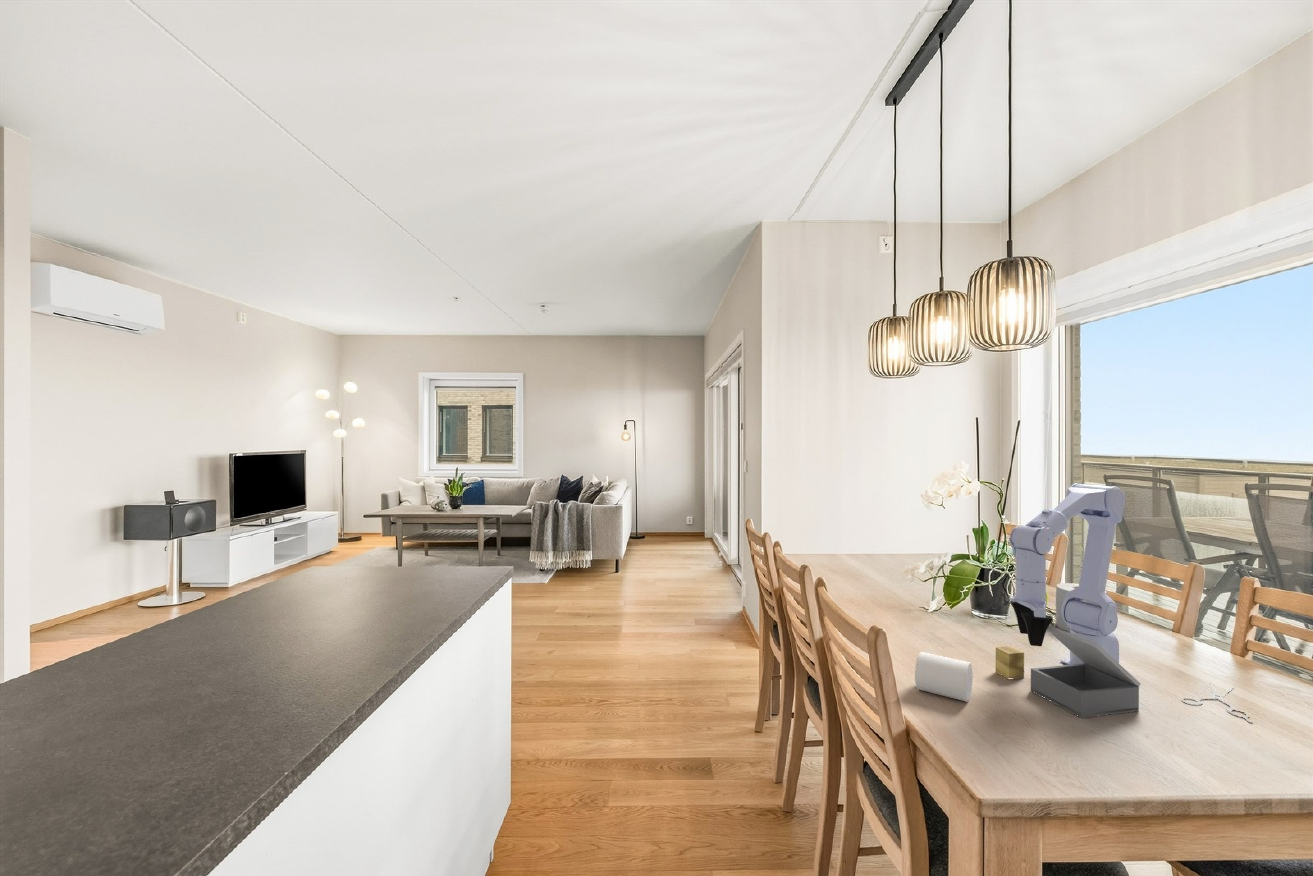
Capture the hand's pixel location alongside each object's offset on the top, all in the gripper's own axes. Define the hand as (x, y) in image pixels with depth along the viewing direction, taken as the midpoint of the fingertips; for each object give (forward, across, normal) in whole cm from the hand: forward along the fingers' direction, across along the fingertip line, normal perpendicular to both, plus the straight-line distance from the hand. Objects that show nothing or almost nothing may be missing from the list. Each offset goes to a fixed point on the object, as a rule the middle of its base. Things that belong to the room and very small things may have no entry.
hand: (1030, 639), depth 129 cm
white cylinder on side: (+10, +10, -19) cm, 23 cm away
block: (+10, -4, -3) cm, 11 cm away
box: (+10, +6, +8) cm, 14 cm away
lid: (+1, +5, +9) cm, 11 cm away
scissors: (+11, -5, +36) cm, 38 cm away
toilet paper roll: (+11, -46, +24) cm, 53 cm away
